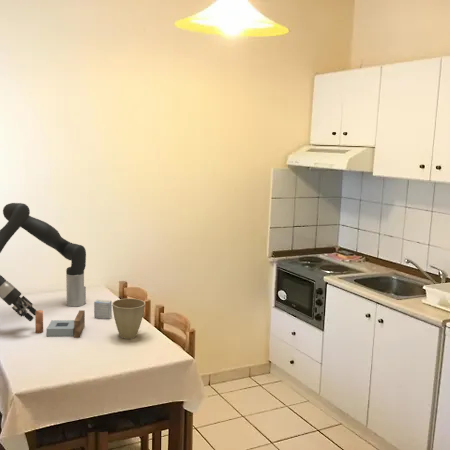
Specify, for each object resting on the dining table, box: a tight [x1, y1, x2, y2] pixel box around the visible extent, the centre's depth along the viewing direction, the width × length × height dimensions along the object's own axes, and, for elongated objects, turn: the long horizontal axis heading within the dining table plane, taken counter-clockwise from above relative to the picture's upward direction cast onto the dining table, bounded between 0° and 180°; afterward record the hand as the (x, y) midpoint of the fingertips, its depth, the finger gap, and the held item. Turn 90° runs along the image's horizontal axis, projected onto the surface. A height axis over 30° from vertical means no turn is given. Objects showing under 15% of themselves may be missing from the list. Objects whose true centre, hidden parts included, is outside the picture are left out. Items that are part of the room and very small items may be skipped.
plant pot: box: [112, 297, 146, 340], centre depth 260 cm, size 15×15×16 cm
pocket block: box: [46, 319, 75, 338], centre depth 264 cm, size 12×12×4 cm
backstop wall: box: [73, 310, 86, 339], centre depth 265 cm, size 2×15×8 cm, turn 6°
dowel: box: [34, 309, 44, 334], centre depth 263 cm, size 3×3×10 cm
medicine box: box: [93, 299, 113, 320], centre depth 286 cm, size 8×4×9 cm, turn 84°
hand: (34, 316), depth 262 cm, fingers open, 8 cm apart
